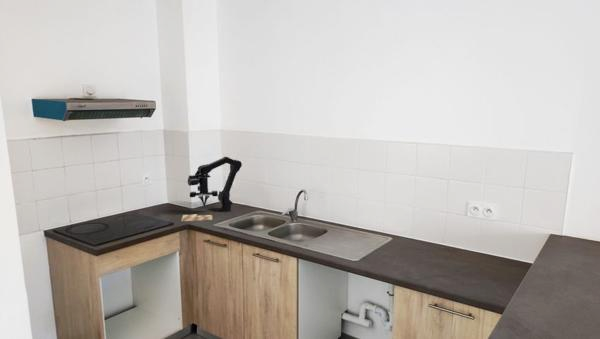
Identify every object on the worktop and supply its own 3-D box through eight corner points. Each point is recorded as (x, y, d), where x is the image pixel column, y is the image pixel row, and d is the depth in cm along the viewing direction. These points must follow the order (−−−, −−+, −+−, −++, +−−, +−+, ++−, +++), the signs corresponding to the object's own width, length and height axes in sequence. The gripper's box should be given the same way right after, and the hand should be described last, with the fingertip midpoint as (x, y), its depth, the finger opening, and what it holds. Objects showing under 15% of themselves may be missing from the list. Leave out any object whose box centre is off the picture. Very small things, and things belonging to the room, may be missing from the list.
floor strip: (212, 217, 284) (212, 216, 284) (212, 221, 276) (212, 219, 276) (182, 219, 280) (182, 217, 280) (181, 223, 272) (181, 221, 272)
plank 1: (197, 215, 289) (197, 214, 289) (197, 218, 282) (196, 216, 282) (183, 216, 287) (183, 215, 287) (182, 219, 280) (182, 217, 280)
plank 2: (212, 215, 291) (211, 213, 291) (212, 217, 284) (211, 216, 284) (197, 216, 289) (197, 214, 289) (197, 218, 282) (197, 216, 282)
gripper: (217, 181, 294) (217, 202, 297) (190, 182, 291) (191, 203, 293) (217, 184, 284) (218, 206, 286) (189, 185, 280) (190, 207, 282)
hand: (204, 206), depth 287 cm, fingers closed
